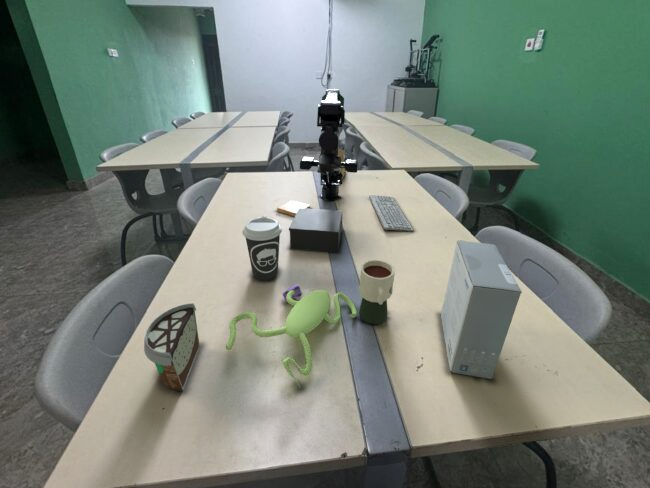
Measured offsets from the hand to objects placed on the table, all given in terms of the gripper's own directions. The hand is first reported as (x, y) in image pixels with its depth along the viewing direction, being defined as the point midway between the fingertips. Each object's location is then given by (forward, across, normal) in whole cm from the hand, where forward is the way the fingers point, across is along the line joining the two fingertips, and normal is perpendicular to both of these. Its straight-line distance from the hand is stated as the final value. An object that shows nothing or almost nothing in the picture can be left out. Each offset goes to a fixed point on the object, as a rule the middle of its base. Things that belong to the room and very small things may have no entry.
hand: (328, 189), depth 107 cm
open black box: (+13, -2, -12) cm, 18 cm away
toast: (+13, -14, +9) cm, 21 cm away
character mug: (+13, +16, -44) cm, 49 cm away
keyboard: (+13, +22, +12) cm, 28 cm away
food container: (+13, -21, -62) cm, 67 cm away
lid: (+6, -2, -13) cm, 14 cm away
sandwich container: (+13, -2, +55) cm, 57 cm away
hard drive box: (+13, +34, -50) cm, 62 cm away
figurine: (+13, -1, -51) cm, 53 cm away
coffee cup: (+13, -13, -32) cm, 37 cm away
